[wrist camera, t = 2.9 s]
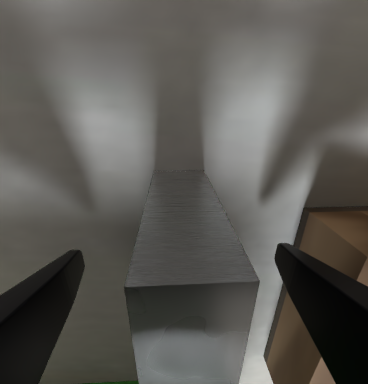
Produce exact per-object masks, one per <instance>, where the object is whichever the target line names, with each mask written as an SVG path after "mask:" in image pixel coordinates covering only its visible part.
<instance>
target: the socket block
mask: <svg viewBox="0 0 368 384" xmlns="http://www.w3.org/2000/svg"><path fill="white" fill-rule="evenodd" d="M294 247H296V248H298V249H300V250H301V251H303V252H305V253H307V254H309V255H311V256H312V257H314V258H316V259H318V260H320V261H322V262H323V263H325V264H327V265H329V266H331V267H333V268H334V269H336V270H338V271H340V272H342V273H344V274H346V275H347V276H349V277H351V278H353V279H355V280H357V281H358V282H360V283H362V284H364V285H366V286H368V206H364V207H321V208H304V210H303V213H302V217H301V221H300V225H299V228H298V232H297V236H296V239H295V243H294ZM264 359H265V362H266V364H267V367H268V370H269V373H270V375H271V378H272V381H273V383H274V384H336V383H335V381H334V380H333V378H332V376H331V374H330V372H329V370H328V368H327V366H326V364H325V363H324V361H323V359H322V357H321V355H320V353H319V351H318V349H317V347H316V346H315V344H314V342H313V340H312V338H311V336H310V334H309V332H308V330H307V328H306V327H305V325H304V323H303V321H302V319H301V317H300V315H299V313H298V311H297V310H296V308H295V306H294V304H293V302H292V300H291V298H290V296H289V294H288V292H287V290H286V288H285V285H284V284H283V287H282V291H281V295H280V298H279V302H278V306H277V310H276V313H275V317H274V321H273V324H272V328H271V332H270V335H269V339H268V343H267V347H266V350H265V354H264Z"/></svg>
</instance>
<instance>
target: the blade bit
mask: <svg viewBox="0 0 368 384" xmlns="http://www.w3.org/2000/svg"><path fill="white" fill-rule="evenodd" d="M259 282H260V281H259V279H258V277H257V275H256V273H255V271H254V269H253V267H252V265H251V263H250V261H249V259H248V257H247V255H246V253H245V251H244V249H243V247H242V245H241V243H240V241H239V239H238V237H237V235H236V233H235V231H234V229H233V227H232V225H231V223H230V221H229V219H228V217H227V215H226V213H225V211H224V209H223V207H222V205H221V203H220V201H219V199H218V197H217V195H216V193H215V191H214V189H213V187H212V185H211V183H210V181H209V179H208V177H207V176H206V174H205V172H204V170H188V171H154V172H153V176H152V180H151V184H150V188H149V192H148V196H147V200H146V204H145V208H144V212H143V216H142V219H141V223H140V227H139V231H138V235H137V239H136V243H135V247H134V251H133V255H132V259H131V263H130V266H129V270H128V274H127V278H126V282H125V286H124V289H125V296H126V302H127V309H128V315H129V322H130V329H131V335H132V342H133V348H134V355H135V362H136V368H137V375H138V381H139V384H239V379H240V374H241V369H242V364H243V360H244V355H245V350H246V345H247V340H248V335H249V331H250V326H251V321H252V316H253V311H254V306H255V302H256V297H257V292H258V287H259Z"/></svg>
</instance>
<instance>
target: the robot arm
mask: <svg viewBox="0 0 368 384" xmlns="http://www.w3.org/2000/svg"><path fill="white" fill-rule="evenodd" d="M275 263H276V265H277V268H278V270H279V273H280V275H281V278H282V280H283V283H284V285H285V288H286V290H287V292H288V294H289V296H290V298H291V300H292V302H293V304H294V306H295V308H296V310H297V311H298V313H299V315H300V317H301V319H302V321H303V323H304V325H305V327H306V328H307V330H308V332H309V334H310V336H311V338H312V340H313V342H314V344H315V346H316V347H317V349H318V351H319V353H320V355H321V357H322V359H323V361H324V363H325V364H326V366H327V368H328V370H329V372H330V374H331V376H332V378H333V380H334V381H335V383H336V384H368V286H366V285H364V284H362V283H360V282H358V281H357V280H355V279H353V278H351V277H349V276H347V275H346V274H344V273H342V272H340V271H338V270H336V269H334V268H333V267H331V266H329V265H327V264H325V263H323V262H322V261H320V260H318V259H316V258H314V257H312V256H311V255H309V254H307V253H305V252H303V251H301V250H300V249H298V248H296V247H294V246H292V245H290V244H288V243H279V244H278V245H277V249H276V253H275ZM84 268H85V264H84V259H83V255H82V252H81V250H70V251H68V252H67V253H65V254H64V255H62V256H61V257H59V258H57V259H56V260H54V261H53V262H51V263H50V264H48V265H47V266H45V267H44V268H42V269H41V270H39V271H37V272H36V273H34V274H33V275H31V276H30V277H28V278H27V279H25V280H24V281H22V282H20V283H19V284H17V285H16V286H14V287H13V288H11V289H10V290H8V291H7V292H5V293H3V294H2V295H0V384H38V383H39V381H40V379H41V376H42V374H43V372H44V370H45V367H46V365H47V363H48V360H49V358H50V356H51V354H52V351H53V349H54V347H55V344H56V342H57V340H58V338H59V335H60V333H61V331H62V328H63V326H64V324H65V322H66V319H67V317H68V315H69V312H70V310H71V308H72V305H73V303H74V300H75V297H76V294H77V291H78V288H79V284H80V281H81V278H82V275H83V272H84Z"/></svg>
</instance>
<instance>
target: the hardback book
mask: <svg viewBox="0 0 368 384" xmlns="http://www.w3.org/2000/svg"><path fill="white" fill-rule="evenodd" d="M83 384H139V381H121V382H102V383H83Z"/></svg>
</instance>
